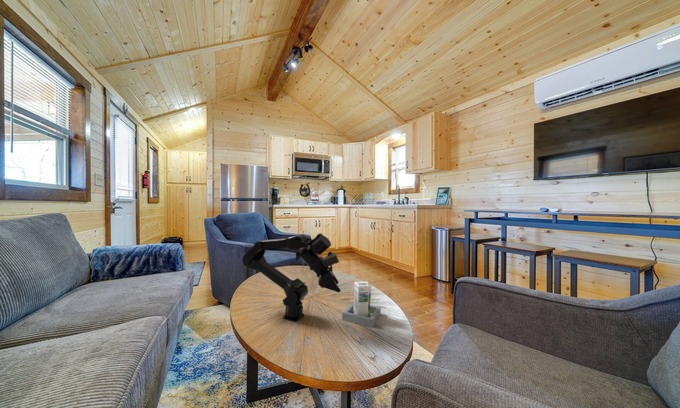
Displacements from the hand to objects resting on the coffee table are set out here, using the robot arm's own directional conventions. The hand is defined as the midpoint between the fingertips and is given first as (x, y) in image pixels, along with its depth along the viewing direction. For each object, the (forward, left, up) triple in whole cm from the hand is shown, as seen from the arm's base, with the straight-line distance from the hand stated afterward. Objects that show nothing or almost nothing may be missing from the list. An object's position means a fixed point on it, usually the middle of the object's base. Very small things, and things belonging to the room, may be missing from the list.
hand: (338, 287), depth 102 cm
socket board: (+8, +7, -14) cm, 17 cm away
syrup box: (+8, +7, -14) cm, 18 cm away
